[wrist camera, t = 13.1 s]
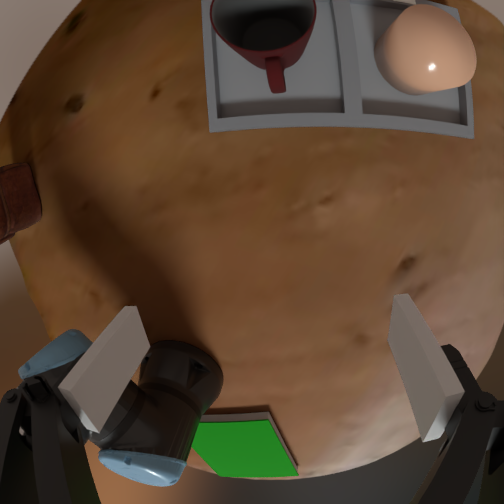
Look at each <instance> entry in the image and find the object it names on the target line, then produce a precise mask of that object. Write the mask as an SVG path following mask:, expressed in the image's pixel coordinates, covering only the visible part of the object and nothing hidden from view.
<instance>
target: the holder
mask: <svg viewBox="0 0 504 504" xmlns="http://www.w3.org/2000/svg"><path fill="white" fill-rule="evenodd" d="M211 2H212V0H201V4H202V25H203V44H204V61H205V76H206V90H207V104H208V117H209V129H210V132H224V131H234V130H247V129H261V128H281V127H362V128H381V129H395V130H407V131H417V132H426V133H434V134H442V135H449V136H456V137H462V138H470V139H474V118H473V101H472V89H471V79H470V81H468V82H467V83H466V84H464V85H462V86H460V87H455V88H450V89H446V90H441V91H437V92H432V93H428V94H424V95H417V96H415V95H408V94H405V93H402V92H400V91H398V90H397V89H395V88H394V87H392V86H391V85H390V84H389V83H388V82H387V81H386V80H385V79H384V78H383V76H382V75H381V74H380V72H379V70H378V68H377V66H376V62H375V58H374V48H375V44H376V42H377V40H378V38H379V37H380V36H381V35H382V34H383V33H384V32H385V30H386V29H387V28H388V27H389V26H390V25H391V24H392V23H393V22H394V21H395V20H396V19H397V17H398V16H399V15H400V14H401V13H402V12H403V11H404V10H405V9H407V8H408V7H410V6H413V5H417V4H427V5H432V6H435V7H438V8H440V9H442V10H444V11H446V12H447V13H449V14H450V15H452V16H453V17H454V18H455V19H456V20H457V21H458V22H459V23H460V24H461V22H460V17H459V13H458V10H457V9H456V8H452V7H449V6H446V5H442V4H439V3H435V2H431V1H427V0H315V2H316V7H317V14H316V21H315V25H314V28H313V31H312V34H311V36H310V39H309V41H308V44H307V46H306V48H305V50H304V53H303V55H302V56H301V58H300V59H299V60H298V61H297V62H296V63H295V64H294V65H292V66H291V67H288V68H286V69H285V70H284V77H285V84H286V92H284V93H278V94H274V93H272V92H271V90H270V87H269V84H268V79H267V74H266V70H264V69H260V68H258V67H256V66H254V65H253V64H251V63H250V62H248V61H247V60H246V59H245V58H243V57H242V56H241V55H239V54H238V53H237V52H235V51H234V50H233V49H232V48H230V47H229V46H228V45H227V44H226V43H225V42H224V41H223V40H222V39H221V38H220V37H219V36H218V35H217V33H216V32H215V31H214V29H213V27H212V24H211V21H210V5H211Z"/></svg>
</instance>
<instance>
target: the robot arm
mask: <svg viewBox="0 0 504 504" xmlns="http://www.w3.org/2000/svg"><path fill="white" fill-rule="evenodd" d="M387 341H388V343H389V346H390V348H391V351H392V353H393V356H394V359H395V361H396V364H397V367H398V369H399V372H400V375H401V377H402V380H403V383H404V386H405V389H406V392H407V394H408V397H409V400H410V403H411V406H412V409H413V413H414V416H415V419H416V422H417V425H418V428H419V432H420V435H421V439H422V442H426V441H430V440H433V439H437V438H440V437H441V435H442V433H443V432H444V430H445V431H446V434H447V436H448V437H447V439H446V440H445V442H444V443H443V445H442V447H441V448H440V449H439V451H440V452H439V454H438V456H437V458H436V460H435V462H434V464H433V465H432V467H431V469H430V471H429V473H428V474H427V476H426V478H425V480H424V481H423V483H422V484H421V486H420V488H419V489H418V491H417V493H416V494H415V496H414V497H413V499H412V500H411V502H410V503H409V504H463V502H464V500H465V498H466V496H467V494H468V492H469V490H470V488H471V486H472V483H473V481H474V479H475V476H476V474H477V472H478V469H479V467H480V464H481V461H482V459H483V456H484V453H485V451H486V457H485V464H484V471H483V478H482V484H481V489H480V494H479V499H478V504H504V401H498V400H497V399H496V398H495V397H494V396H493V395H492V394H490V393H488V392H482V390H481V389H480V387H479V385H478V383H477V381H476V380H475V378H474V376H473V374H472V373H471V371H470V369H469V367H467V364H466V362H465V361H464V360H463V357H462V356H461V354H460V352H459V351H458V350H457V349H456V348H454V347H453V346H452V345H450V344H448V345H443V346H440V345H439V343H438V341H437V340H436V338H435V336H434V334H433V333H432V331H431V329H430V328H429V326H428V324H427V323H426V321H425V320H424V318H423V316H422V315H421V313H420V312H419V310H418V308H417V307H416V305H415V304H414V302H413V301H412V299H411V297H410V296H409V294H399V295H394V298H393V306H392V314H391V321H390V327H389V333H388V339H387ZM141 361H142V362H141ZM140 363H141V367H140V374H139V381H138V386H137V385H136V384H135V383H134V382H133V381H132V380H131V378H132V376H133V374H134V373H135V371H136V369H137V368H138V366H139V364H140ZM18 372H19V375H20V378H21V379H24V380H23V382H22V383H21V384H20V385H19V386H18V387H17V389H11V390H9V391H7V392H6V394H5V395H4V396H3V398H2V400H1V403H0V504H101V502H100V499H99V496H98V493H97V490H96V487H95V484H94V480H93V477H92V474H91V471H90V467H89V463H88V459H87V455H86V451H85V447H84V445H85V443H86V442H87V441H88V440H90V441H91V442H93V443H94V444H95V445H97V446H98V447H99V448H100V449H101V450H100V451H99V456H98V458H99V461H100V462H101V463H103V465H104V466H106V467H107V468H108V469H110V470H112V471H114V472H116V473H117V474H119V475H122V476H124V477H127V478H129V479H131V480H134V481H137V482H141V483H144V484H149V485H154V486H170V485H173V484H175V483H176V482H177V481H178V480H179V478H180V476H181V474H182V472H183V469H184V467H185V466H186V464H187V462H186V461H187V458H188V455H189V452H190V449H191V446H192V443H193V440H194V437H195V434H196V431H197V428H198V426H199V422H200V419H201V417H202V415H203V414H204V413H205V412H206V410H207V409H208V408H209V407H210V406H211V405H212V404H213V402H214V401H215V400H216V399H217V398H218V396H219V394H220V392H221V389H222V385H223V375H222V372H221V370H220V368H219V366H218V365H217V363H216V362H215V361H214V360H213V359H212V358H211V357H210V356H209V355H207V354H206V353H205V352H203V351H201V350H200V349H198V348H196V347H194V346H192V345H189V344H186V343H183V342H178V341H160V342H157V343H155V344H153V345H152V346H150V344H149V341H148V338H147V336H146V333H145V330H144V327H143V324H142V321H141V318H140V315H139V312H138V309H137V306H124V308H123V309H122V310H121V311H120V312H119V313H118V315H117V316H116V317H115V318H114V319H113V320H112V321H111V323H110V324H109V325H108V326H107V327H106V328H105V330H104V331H103V332H102V333H101V334H100V336H99V337H98V338H97V339H96V340H95V342H94V343H93V342H91V341H90V340H89V339H88V338H87V337H86V336H85V335H84V334H83V333H82V332H81V331H79V330H76V329H70V330H68V331H66V332H64V333H63V334H61V335H60V336H59V337H57V338H56V339H54V340H53V341H52V342H51V343H49V344H48V345H47V346H45V347H44V348H43V349H42V350H40V351H39V352H38V353H37V354H36V355H34V356H33V357H32V358H31V359H30V360H29V361H27V362H26V363H25V364H24V365H23V366H22V367H21V368H20V369H19V371H18Z"/></svg>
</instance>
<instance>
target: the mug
mask: <svg viewBox="0 0 504 504" xmlns="http://www.w3.org/2000/svg"><path fill="white" fill-rule="evenodd" d="M316 14H317V7H316V2H315V0H212V2H211V5H210V21H211V24H212V27H213V29H214V31H215V32H216V33H217V35H218V36H219V37H220V38H221V39H222V40H223V41H224V42H225V43H226V44H227V45H228V46H229V47H230V48H232V49H233V50H234V51H235V52H237V53H238V54H239V55H241V56H242V57H243V58H245V59H246V60H247V61H248V62H250V63H251V64H253V65H254V66H256V67H258V68H260V69H264V70H266V74H267V79H268V84H269V87H270V90H271V92H272V93H274V94H278V93H284V92H286V84H285V77H284V70H285V69H286V68H288V67H291V66H292V65H294V64H295V63H296V62H297V61H298V60H299V59H300V58H301V56H302V55H303V53H304V50H305V48H306V46H307V44H308V41H309V39H310V36H311V34H312V31H313V28H314V25H315V21H316Z"/></svg>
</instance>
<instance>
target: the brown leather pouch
mask: <svg viewBox="0 0 504 504" xmlns="http://www.w3.org/2000/svg"><path fill="white" fill-rule="evenodd" d="M41 215H42V212H41V203H40V199H39V196H38V193H37V190H36V187H35V184H34V179H33V176H32V172H31V168H30V166H29V165H28V164H27V163H14V164H9V165H5V166H3V167H0V244H2V243H4V242H5V241H7V240H9V239H10V238H12V237H13V236H14V235H15V232H17V231H20V230H23V229H25V228H28V227H30V226H31V225H33V224H35V223H36V222H38V221H40V219H41Z"/></svg>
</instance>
